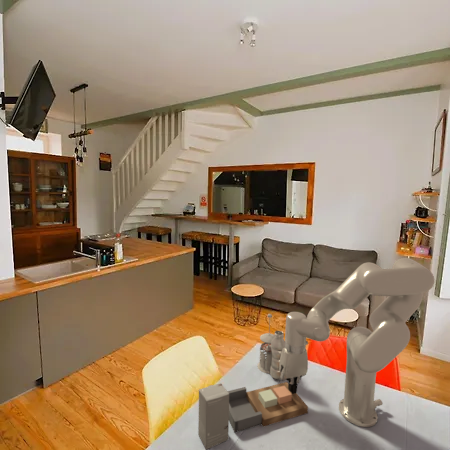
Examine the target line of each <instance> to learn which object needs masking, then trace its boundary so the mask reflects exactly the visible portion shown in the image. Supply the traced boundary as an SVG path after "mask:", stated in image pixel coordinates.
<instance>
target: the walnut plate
mask: <svg viewBox="0 0 450 450" xmlns="http://www.w3.org/2000/svg"><path fill="white" fill-rule="evenodd" d="M281 386H285V387H286V388H287V389H288V381H285V382H281V383H277V384H273V385H269V386H265V387H262V388H258V389H253V390H250V391H246V398H247V399H248V401H249V403H250V404H251V406H252V408H253V409H254V411H255V412H260V411H261V413H262V425H261V426H262V427H267V426H270V425H273V424H277V423H280V422H283V421H288V420H290V419H293V418H296V417H299V416H303V415H306V414H308V413H309V406H308V405H307V404H306V402H305V401H304V400H303V399H302V398H301V396H300V395H299V394H298V392H297V393H296V394H295V393H294V394H292V393H291V392H290V391H289V389H288V391H289V392H290V393H291V394H292V400H291V401H289V402H285V403H281V404H279V402H278V401H277V405H274V406H271V407H267V408H264V406H263V405H262V403H261V401H260V400H259V392H262V391H266V390H269V389H271V390H272V392H273V388H277V387H281Z"/></svg>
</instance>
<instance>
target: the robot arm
mask: <svg viewBox="0 0 450 450" xmlns="http://www.w3.org/2000/svg"><path fill="white" fill-rule="evenodd" d="M434 285H435V276H434V274H433V273H432V271H431V270H429V268H427V267H425V266H424V265H422V264H421V263H419V262H418V261H416V260H415V259H412V258H410V257H409V258H408V257H402V258H398V259H397V260H396V261H395V262H394V263H393V265H392V268H382V267H381V266H379V264H376V263H374V262H369V261H368V262H367V261H366V262H364V263H361V264H360V265H359V266H358V267H357V268H356V269H354V271H353V272H352V273H351V274H350V275H349V276H348V277H347V278H346V279H345V280H344V281H343V282H342V283H341V284H340V285H339V286H338V287H337V288H336V289H335V290H334V291H331V292H330V293H329V294H327V295H326V296H325V295H324V296H323V298H321V299H319V301H317V303H316V304H315V305H314V306H313V307H312V308H311V309H310V310H309V312H308V314H307V316H306V314H304V313H302V312H300V311H291V312H288V313H287V314H286V315H285V316H286V318H285V335H284V341H285V348H283V349H282V352H281V356H280V363H279V372H282V373H281V376H280V378H281V381H285V382H287V383H288V389H289V391H290V392H291V393H292V394H294V393H295V394H296V393H297V394H298V384H299V383H300V380H301V379H302V377H305V376H306V375H307V373H308V369H309V368H308V367H309V361H308V360H309V358H308V357H309V356H308V350H307V347H306V346H307V345H308V344H309V342H308V340H307V339H309V340H312V341H316V342H325V341H327V340H328V339H329V337H330V335H331V330H330V325H329V321H331V319H332V318H333V317H334V316H335V315H336V314H337V313H339V312H340V311H343V310H355V309H357V308H358V307H359V306H360V305H361V304H362V303H363V302H364V301H366V299H367V298H368V297H369V296H370V295H372V296H374V297H375V296H376V297H386V298H385V299H384V300H383V301H382V302H381V303H380V304H379V305H378V306H377V307H376V308H375V309H374V310H373V311H372V312H371V313H370V315H369V318H368V319H369V321H368V322H369V324H370V326H371V329H372V330H373V331H371V329H369V328H367V327H365V326H355V327H353V328H351V330H350V331H349V332H348V334H347V338H346V365H345V379H344V380H345V382H344V395H343V399H341V400H340V401H339V403H338V410H339V413H340V414H341V416H342V418H344V419H345V420H346V421H348V422H350V423H351V424H353V425H355V426H358V427H361V428H370V427H373V426H375V425H376V424H377V422H378V413H377V411H376V408H377V407H380V406H383V400H382V399H380V398H378V399H375V389H376V380H377V379H376V377H377V373H378V372H380V371H381V370H383V369H385V368H386V367H387V366H388V365H389V364H390V363H391V362H392V361H393V360H394V359H395V358H396V357H397V356H399V355H400V354H401V353H402V352H403V351H404V349H406V347H407V346H408V344H409V342H410V340H411V331H410V329H409V326H408V325H407V324H406V322H408V320H409V319H410V318H411V316H412V315H413V314H414V313H415V312H416V311H417V310H418V308H419V307H420V305H421V303H422V301H423V298H424V293H427V292H429V291H430V290H431V289H432V288H433V287H434Z"/></svg>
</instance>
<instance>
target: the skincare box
mask: <svg viewBox="0 0 450 450" xmlns="http://www.w3.org/2000/svg"><path fill="white" fill-rule="evenodd" d="M227 391H228V390H227V389H226V387H225V386H224V385H223V384H222V383H221V382H220V383H217V384H213V385H212V384H211V385H208V386H206V387H203V388H199V389H198V423H197V424H198V427H197V428H198V431H197V433H198V437H199V439H200V440H201V442H202V444H203V446H204V448H205V450H209V449H211V448H213V447H215V446H218V445H220V444H222V443H225V442H226V441H228V440H229V428H230V425H229V424H230V422H229V393H228V392H227Z"/></svg>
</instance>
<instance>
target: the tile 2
mask: <svg viewBox="0 0 450 450" xmlns="http://www.w3.org/2000/svg"><path fill="white" fill-rule="evenodd" d="M273 393H274V394H275V396H276V397H277V401H278V402H279V404H281V403H285V402H289V401H291V400H292V394H291V393H290V392H289V391H288V389H287V388H286V387H285V386H281V387H277V388H273Z"/></svg>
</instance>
